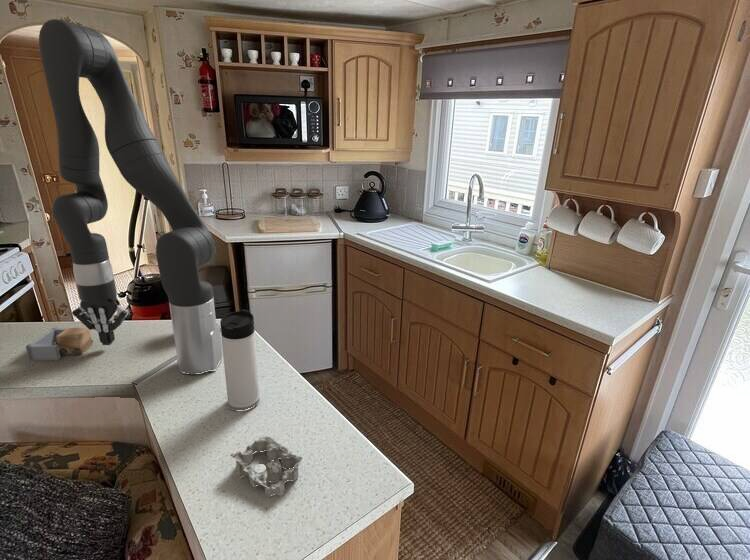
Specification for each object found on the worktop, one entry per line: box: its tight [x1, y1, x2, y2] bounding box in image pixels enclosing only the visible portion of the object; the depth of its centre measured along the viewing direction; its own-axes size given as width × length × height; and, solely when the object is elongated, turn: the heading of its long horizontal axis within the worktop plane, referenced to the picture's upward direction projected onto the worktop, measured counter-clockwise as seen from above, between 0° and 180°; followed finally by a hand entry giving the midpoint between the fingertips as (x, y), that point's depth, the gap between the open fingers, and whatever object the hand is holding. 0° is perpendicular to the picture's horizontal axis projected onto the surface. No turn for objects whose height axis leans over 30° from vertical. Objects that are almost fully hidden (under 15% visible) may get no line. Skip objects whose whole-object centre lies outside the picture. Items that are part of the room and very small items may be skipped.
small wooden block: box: [56, 327, 94, 356], centre depth 103 cm, size 5×6×5 cm
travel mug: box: [219, 308, 260, 411], centre depth 84 cm, size 6×7×20 cm
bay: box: [25, 327, 68, 361], centre depth 103 cm, size 6×10×4 cm
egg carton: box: [230, 436, 303, 497], centre depth 70 cm, size 11×8×4 cm
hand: (108, 343), depth 104 cm, fingers closed
